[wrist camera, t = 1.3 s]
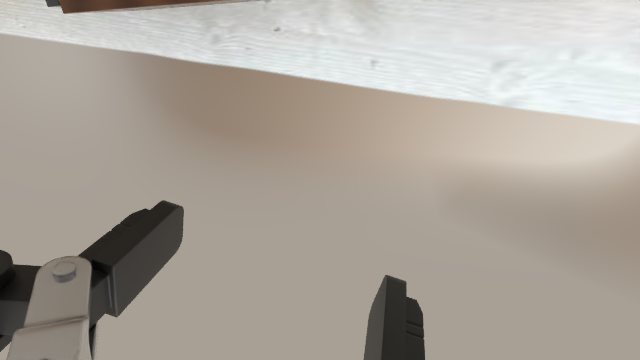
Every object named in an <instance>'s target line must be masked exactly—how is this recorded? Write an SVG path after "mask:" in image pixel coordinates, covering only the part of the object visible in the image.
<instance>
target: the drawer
mask: <svg viewBox="0 0 640 360" xmlns="http://www.w3.org/2000/svg"><path fill="white" fill-rule="evenodd" d="M46 3H47V6H48V7H61V5H60V2H59V0H46Z"/></svg>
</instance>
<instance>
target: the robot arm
mask: <svg viewBox="0 0 640 360" xmlns="http://www.w3.org/2000/svg"><path fill="white" fill-rule="evenodd" d="M183 216H184V210H183V207H182V206H179V205H176V204H173V203H170V202H167V201H161V202H159V203H158V204H157V205H156V206H154V207H153V208H152V209H151V210H148V209H143V210H140V211H138V212H135V213H133V214H131V215H129V216H128V217H127V218H125V219H124V220H123V221H122V222H121V223H120V224H118V225H116V226H115V227H114V228H113V229H112V230H111V231H109V232H108V233H106V234H105V235H104V236H103V237H101V238H100V239H99V240H97V241H96V242H95V243H94V244H92V245H91V246H90V247H88V248H87V249H86V250H85V251H83V252H82V253H81V254H80V255H78V256H66V257H61V258H57V259H54V260H52V261H50V262H48V263H46V264H45V265H44V266H30V265H14V264H13V261H12V257H11V255H10V254H8V253H7V252H5V251H2V250H0V352H1V351H2V350H3V349H4V348H5V347H6V346H7V345H8V344H9V343H10V342H11V345H10V349H9V352H8V356H7V360H96V352H97V337H98V320H99V319H100V318H101V317H102V316H103V315H104V314H105V313H106V314H109V315H111V316H114V317H118V316H119V315H120V314H121V313H122V312H123V310H124V309H125V308H126V307H127V306H128V305H129V304H130V303H131V301H133V299H134V298H135V297H136V296H137V295H138V294H139V292H141V291H142V289H143V288H144V287H145V286H146V285H147V284H148V283H149V282H150V281H151V280H152V278H153V277H154V276H155V275H156V274H157V273H158V272H159V271H160V270H161V268H162V267H163V266H164V265H165V264H166V263H167V262H168V261H169V260H170V259H171V257H172V256H173V255H174V254H175V253H176V252H177V250H178V249H179V247H180V244H181V242H182V237H183ZM423 338H424V329H423V313H422V311H421V308H420V307H419V304H418V302H417V300H415V299H412V298H409V297H406V281H403V280H400V279H397V278H394V277H391V276H388V275H385V277H384V279H383V281H382V284H381V286H380V288H379V290H378V293H377V295H376V297H375V299H374V302H373V304H372V307H371V310H370V314H369V320H368V328H367V336H366V345H365V353H364V360H425V350H424V349H425V348H424V339H423Z"/></svg>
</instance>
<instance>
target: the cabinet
mask: <svg viewBox="0 0 640 360" xmlns="http://www.w3.org/2000/svg"><path fill="white" fill-rule="evenodd" d="M248 1H260V0H59V2H60V5H61V8H62V11H63V13H89V12H112V11H135V10H148V9H160V8H173V7H185V6H198V5H210V4H223V3H235V2H248Z"/></svg>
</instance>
